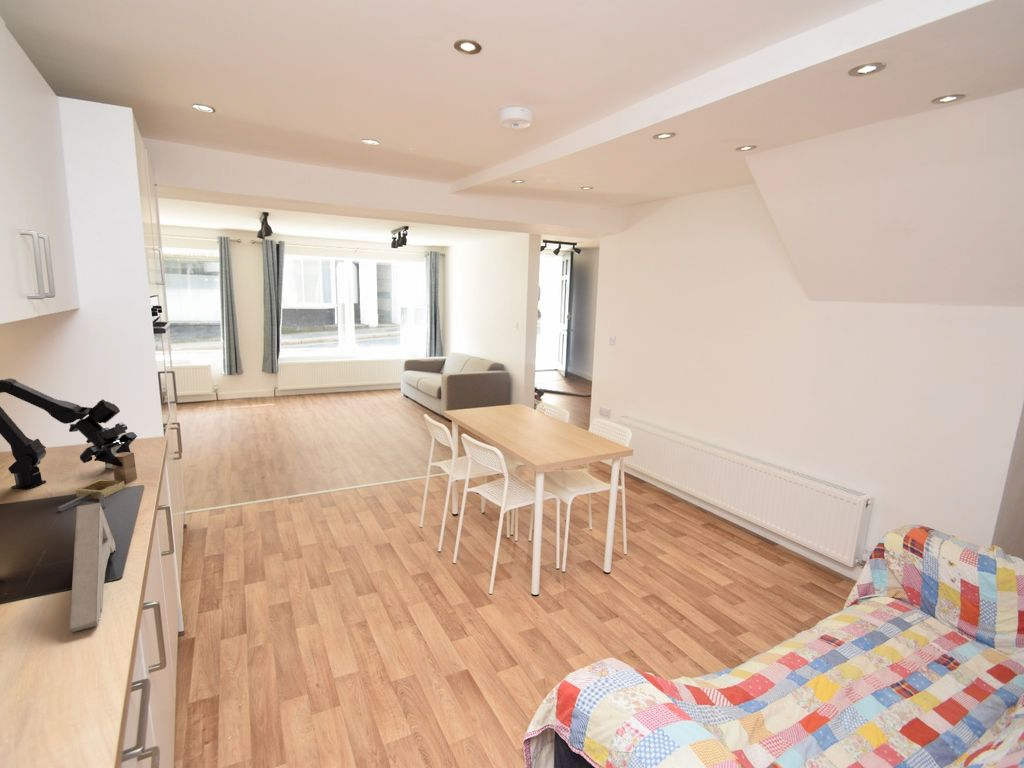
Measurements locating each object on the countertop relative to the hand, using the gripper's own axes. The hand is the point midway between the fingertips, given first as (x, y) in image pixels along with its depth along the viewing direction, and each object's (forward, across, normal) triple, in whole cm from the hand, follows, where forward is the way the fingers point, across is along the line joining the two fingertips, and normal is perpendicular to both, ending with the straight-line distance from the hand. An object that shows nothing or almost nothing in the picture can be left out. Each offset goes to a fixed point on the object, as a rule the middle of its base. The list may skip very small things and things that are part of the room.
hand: (127, 463), depth 178 cm
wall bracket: (+35, -57, -25) cm, 71 cm away
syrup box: (-6, +12, +16) cm, 21 cm away
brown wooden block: (+4, 0, +6) cm, 7 cm away
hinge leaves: (+6, -15, +4) cm, 16 cm away
